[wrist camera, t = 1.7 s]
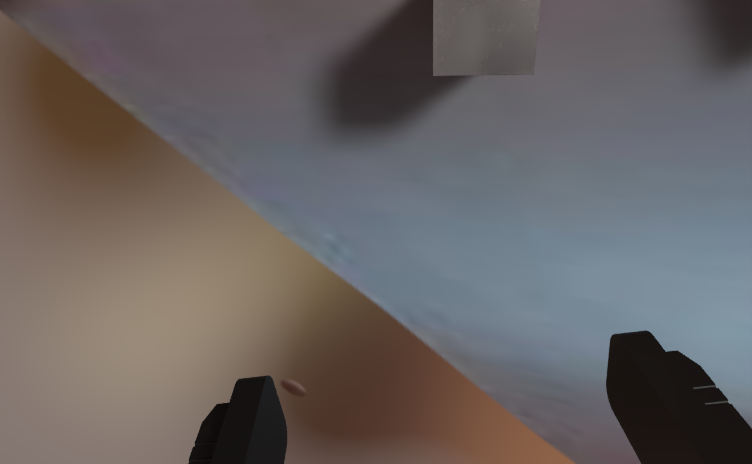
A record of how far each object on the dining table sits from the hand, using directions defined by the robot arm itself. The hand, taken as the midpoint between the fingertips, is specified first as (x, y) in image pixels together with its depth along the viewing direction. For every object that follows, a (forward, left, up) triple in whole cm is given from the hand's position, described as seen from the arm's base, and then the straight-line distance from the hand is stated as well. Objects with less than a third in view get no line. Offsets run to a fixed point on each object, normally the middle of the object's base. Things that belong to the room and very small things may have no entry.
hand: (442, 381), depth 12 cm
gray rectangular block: (0, +7, -26) cm, 27 cm away
